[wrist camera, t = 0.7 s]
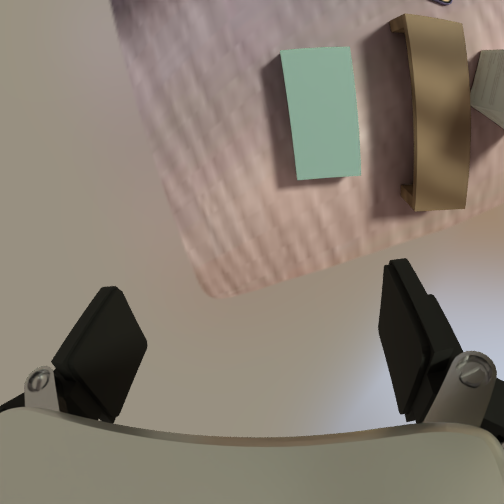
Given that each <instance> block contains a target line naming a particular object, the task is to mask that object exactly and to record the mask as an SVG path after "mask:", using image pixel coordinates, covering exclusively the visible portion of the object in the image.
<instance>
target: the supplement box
mask: <svg viewBox="0 0 504 504" xmlns="http://www.w3.org/2000/svg"><path fill="white" fill-rule="evenodd" d="M470 106H472V107H473V108H475V109H476V110H478V111H479V112H481V113H482V114H484V115H485V116H487V117H488V118H489V119H491V120H492V121H493V122H495V123H496V124H497V125H499V126H500V127H501V128H503V129H504V50H481V54H480V58H479V62H478V67H477V71H476V74H475V78H474V82H473V86H472V89H471V93H470Z"/></svg>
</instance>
